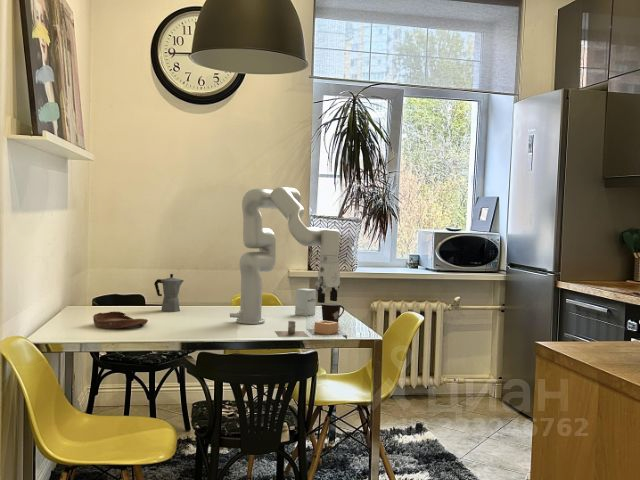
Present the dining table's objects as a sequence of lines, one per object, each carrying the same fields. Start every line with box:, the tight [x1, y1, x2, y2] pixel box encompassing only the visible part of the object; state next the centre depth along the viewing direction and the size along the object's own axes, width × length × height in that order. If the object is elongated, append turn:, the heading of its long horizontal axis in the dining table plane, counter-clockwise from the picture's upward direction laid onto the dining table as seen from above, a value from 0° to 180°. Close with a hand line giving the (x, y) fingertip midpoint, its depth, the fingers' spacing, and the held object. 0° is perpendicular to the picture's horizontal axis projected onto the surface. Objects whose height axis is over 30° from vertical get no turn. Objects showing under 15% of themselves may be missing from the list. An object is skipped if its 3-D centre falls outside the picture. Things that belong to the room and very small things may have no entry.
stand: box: [274, 320, 309, 338], centre depth 266 cm, size 12×12×6 cm
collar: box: [313, 320, 339, 334], centre depth 273 cm, size 7×7×4 cm
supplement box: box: [294, 287, 317, 317], centre depth 329 cm, size 7×7×13 cm
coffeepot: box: [154, 273, 185, 313], centre depth 325 cm, size 15×9×18 cm, turn 129°
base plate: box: [306, 323, 348, 340], centre depth 273 cm, size 14×14×5 cm
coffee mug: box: [320, 302, 345, 323], centre depth 297 cm, size 12×9×10 cm
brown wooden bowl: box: [92, 311, 149, 329], centre depth 277 cm, size 22×20×5 cm
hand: (327, 301), depth 272 cm, fingers open, 8 cm apart
